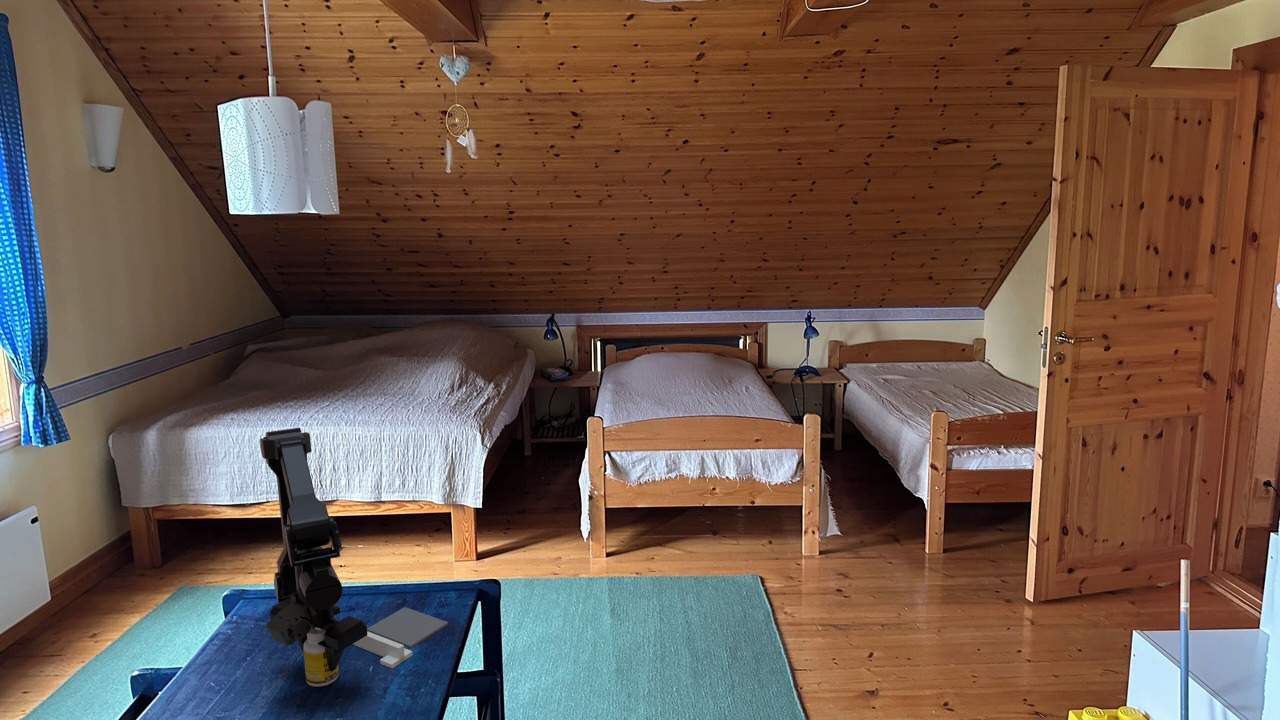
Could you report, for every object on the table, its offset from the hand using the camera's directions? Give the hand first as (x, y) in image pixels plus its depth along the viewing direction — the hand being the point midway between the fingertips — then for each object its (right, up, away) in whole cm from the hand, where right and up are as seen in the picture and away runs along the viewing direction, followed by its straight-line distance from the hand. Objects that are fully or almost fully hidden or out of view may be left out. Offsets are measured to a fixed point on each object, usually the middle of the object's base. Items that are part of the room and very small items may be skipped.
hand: (321, 665), depth 144 cm
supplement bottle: (0, -3, 0) cm, 3 cm away
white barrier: (+4, 0, +11) cm, 11 cm away
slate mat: (+10, +1, +17) cm, 20 cm away
